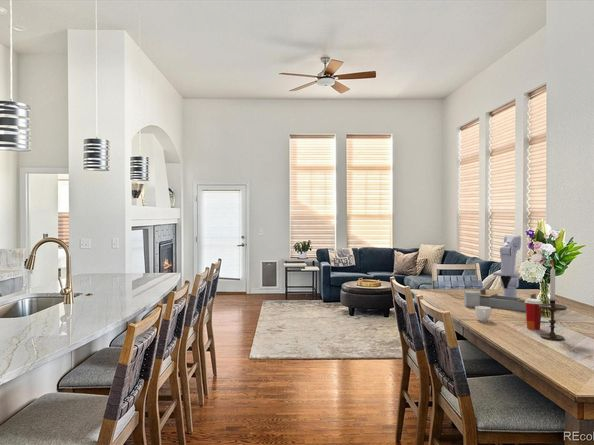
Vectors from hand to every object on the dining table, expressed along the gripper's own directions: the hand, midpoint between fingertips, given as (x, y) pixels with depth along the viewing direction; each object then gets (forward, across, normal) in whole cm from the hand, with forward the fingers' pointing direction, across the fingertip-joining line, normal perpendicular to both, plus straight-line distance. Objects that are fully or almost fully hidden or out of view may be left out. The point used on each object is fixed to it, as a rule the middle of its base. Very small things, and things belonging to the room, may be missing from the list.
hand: (505, 288), depth 279 cm
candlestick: (+12, +40, -66) cm, 78 cm away
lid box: (+10, +2, -3) cm, 11 cm away
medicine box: (+11, -14, -17) cm, 25 cm away
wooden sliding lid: (+5, -10, -3) cm, 12 cm away
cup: (+12, +5, -52) cm, 54 cm away
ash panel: (+5, +14, -3) cm, 15 cm away
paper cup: (+12, +29, -53) cm, 62 cm away
